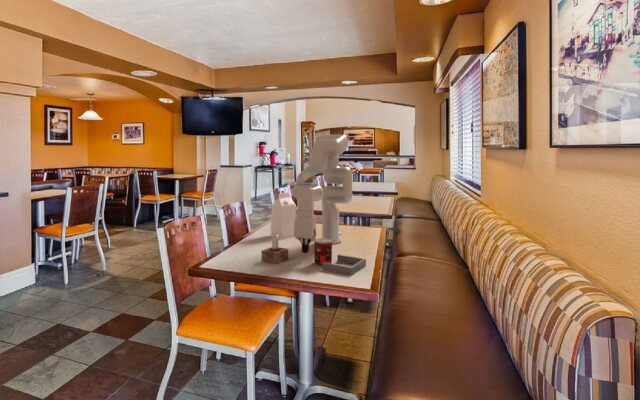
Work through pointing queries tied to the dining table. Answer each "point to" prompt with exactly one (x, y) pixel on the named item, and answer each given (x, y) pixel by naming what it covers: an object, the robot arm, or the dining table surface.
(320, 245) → the canned food
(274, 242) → the pin
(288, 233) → the milk
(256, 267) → the dining table surface
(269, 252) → the block
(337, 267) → the tray
